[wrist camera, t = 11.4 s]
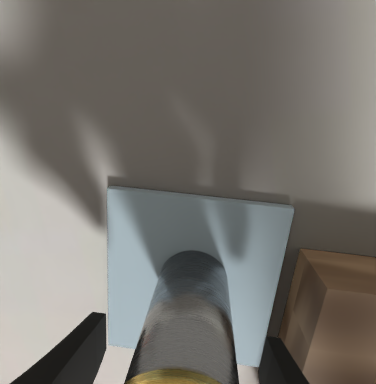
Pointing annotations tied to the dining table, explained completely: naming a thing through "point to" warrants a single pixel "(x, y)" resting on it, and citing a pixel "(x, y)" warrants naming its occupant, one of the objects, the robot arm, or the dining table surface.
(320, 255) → the block
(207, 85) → the dining table surface
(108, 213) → the rubber mat
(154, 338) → the steel key peg
